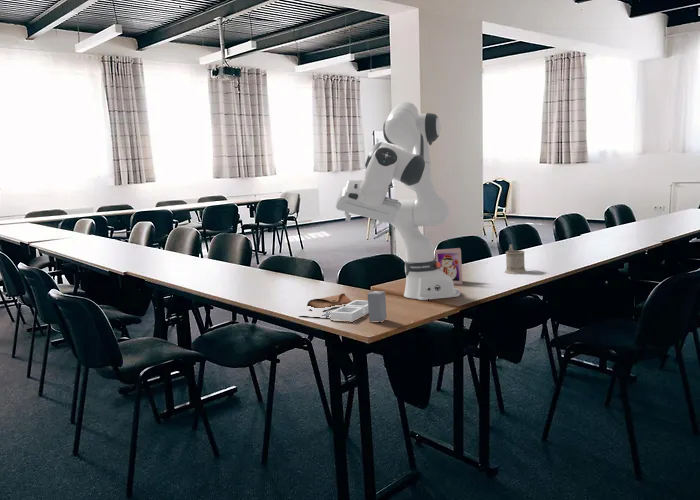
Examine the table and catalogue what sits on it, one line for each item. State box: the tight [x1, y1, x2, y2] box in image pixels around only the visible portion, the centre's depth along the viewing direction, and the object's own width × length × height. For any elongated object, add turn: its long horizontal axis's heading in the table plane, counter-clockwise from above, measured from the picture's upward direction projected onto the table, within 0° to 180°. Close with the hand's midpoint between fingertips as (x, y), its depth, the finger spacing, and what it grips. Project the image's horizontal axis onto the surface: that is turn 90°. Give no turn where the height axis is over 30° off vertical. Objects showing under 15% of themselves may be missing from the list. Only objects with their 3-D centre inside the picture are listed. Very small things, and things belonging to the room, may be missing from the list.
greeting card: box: [434, 247, 463, 285], centre depth 250 cm, size 11×7×15 cm, turn 64°
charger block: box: [366, 290, 387, 322], centre depth 194 cm, size 4×4×10 cm
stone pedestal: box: [504, 244, 527, 275], centre depth 266 cm, size 14×10×12 cm
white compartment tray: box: [329, 299, 369, 321], centre depth 206 cm, size 21×9×3 cm, turn 151°
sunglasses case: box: [306, 293, 353, 308], centre depth 221 cm, size 18×7×7 cm
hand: (361, 223), depth 192 cm, fingers open, 8 cm apart
